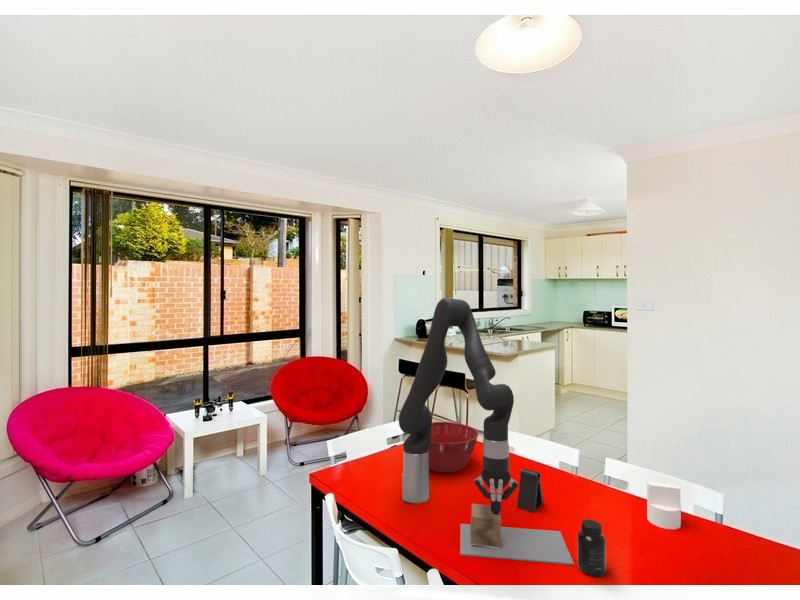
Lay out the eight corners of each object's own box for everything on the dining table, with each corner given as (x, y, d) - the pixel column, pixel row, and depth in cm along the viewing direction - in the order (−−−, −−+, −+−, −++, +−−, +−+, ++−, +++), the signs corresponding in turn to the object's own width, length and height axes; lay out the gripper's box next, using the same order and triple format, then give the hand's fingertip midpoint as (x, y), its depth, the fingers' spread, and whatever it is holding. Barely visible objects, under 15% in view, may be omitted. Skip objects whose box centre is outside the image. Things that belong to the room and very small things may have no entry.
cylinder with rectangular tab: (675, 518, 136) (675, 481, 136) (684, 532, 127) (684, 493, 127) (644, 513, 139) (644, 477, 139) (650, 527, 130) (650, 488, 130)
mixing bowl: (484, 481, 164) (484, 442, 164) (411, 481, 164) (411, 441, 165) (472, 455, 192) (472, 421, 192) (410, 455, 193) (410, 421, 193)
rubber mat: (460, 555, 116) (460, 553, 116) (460, 524, 132) (460, 523, 132) (573, 565, 111) (573, 563, 111) (560, 532, 127) (560, 531, 127)
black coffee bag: (533, 513, 139) (533, 477, 139) (516, 507, 143) (516, 472, 143) (543, 503, 146) (543, 469, 146) (527, 498, 150) (527, 464, 150)
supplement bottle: (572, 561, 113) (572, 517, 113) (596, 560, 113) (596, 516, 114) (586, 578, 106) (585, 531, 106) (611, 577, 107) (611, 529, 107)
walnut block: (470, 544, 119) (472, 516, 119) (470, 529, 127) (471, 503, 127) (499, 548, 118) (501, 520, 118) (497, 533, 126) (498, 506, 126)
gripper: (473, 456, 120) (473, 517, 120) (520, 459, 118) (520, 521, 118) (472, 447, 127) (472, 504, 127) (517, 450, 125) (517, 508, 125)
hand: (495, 512), depth 122 cm, fingers closed
